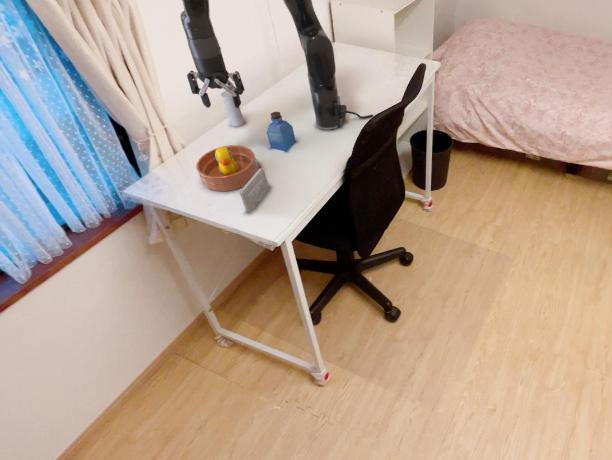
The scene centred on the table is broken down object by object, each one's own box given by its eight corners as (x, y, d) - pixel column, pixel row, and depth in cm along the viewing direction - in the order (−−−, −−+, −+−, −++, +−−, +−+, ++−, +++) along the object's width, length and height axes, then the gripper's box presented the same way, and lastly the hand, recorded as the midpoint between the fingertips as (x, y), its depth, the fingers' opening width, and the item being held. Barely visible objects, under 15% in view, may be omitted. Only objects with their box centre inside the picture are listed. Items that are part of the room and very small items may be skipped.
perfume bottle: (296, 141, 151) (288, 111, 143) (286, 151, 147) (278, 120, 139) (280, 138, 153) (272, 107, 144) (270, 148, 148) (262, 116, 140)
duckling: (242, 181, 134) (232, 155, 127) (224, 186, 133) (213, 159, 126) (237, 162, 142) (227, 136, 135) (220, 166, 140) (209, 140, 133)
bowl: (264, 159, 144) (260, 145, 140) (250, 192, 132) (245, 177, 128) (213, 159, 144) (207, 145, 140) (194, 192, 131) (187, 177, 128)
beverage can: (240, 128, 158) (230, 97, 149) (228, 126, 158) (217, 96, 150) (246, 121, 161) (237, 91, 153) (235, 119, 162) (225, 89, 153)
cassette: (265, 187, 133) (259, 166, 128) (271, 188, 133) (264, 167, 128) (245, 212, 125) (237, 191, 120) (251, 213, 125) (243, 192, 119)
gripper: (174, 57, 114) (194, 112, 125) (228, 57, 114) (244, 113, 126) (184, 46, 119) (203, 100, 131) (236, 46, 120) (250, 100, 131)
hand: (223, 106), depth 128 cm, fingers open, 8 cm apart
